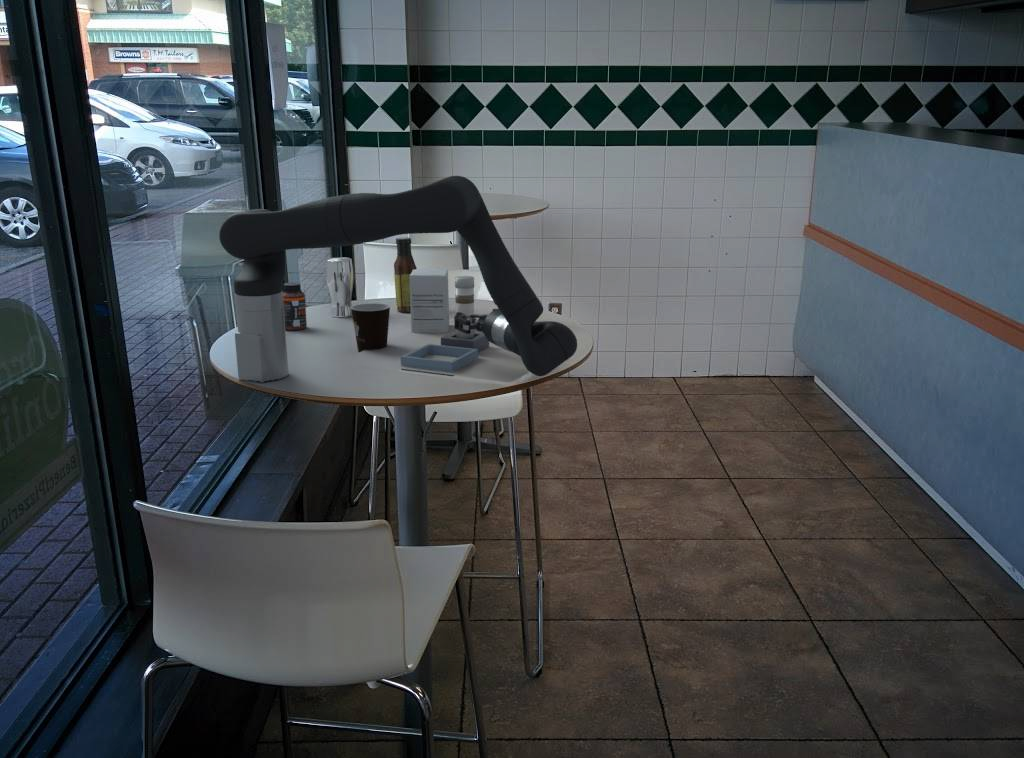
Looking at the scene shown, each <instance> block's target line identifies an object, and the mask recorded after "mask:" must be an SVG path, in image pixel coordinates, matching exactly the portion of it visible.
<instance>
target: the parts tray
mask: <svg viewBox="0 0 1024 758" xmlns="http://www.w3.org/2000/svg"><path fill="white" fill-rule="evenodd" d="M429 355H438V356H446V357H456V358H454V359H452V360H451V361H450V360H443V359H436V358H425V357H426V356H429ZM477 359H479V352H478V349H471V348H462V347H453V346H444V345H441V344H431V343H427V344H425V345H423V346H421V347H418V348H416V349H414V350H412V351H410V352H408V353H406V354H403V355H401V356H400V366H402V367H408V368H419V369H427V370H428V369H429V370H432V371H434V370H435V371H440V372H441V371H442V372H450V373H453V372H455V371H457V370H459V369H461V368H463V367H464V366H466V365H468V364H469V363H471V362H472V363H473V362H474V361H475V360H477ZM400 370H401V371H406V372H413V373H414V372H416V373H422V374H430V375H436V376H437V375H438V376H439V375H440V376H447V377H454V376H455V374H448V373H440V372H439V373H438V372H431V371H423V370H415V369H407V368H401V369H400Z"/></svg>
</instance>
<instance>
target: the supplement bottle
mask: <svg viewBox="0 0 1024 758" xmlns="http://www.w3.org/2000/svg"><path fill="white" fill-rule="evenodd" d="M301 286H302V285H301V283H300V282H286V283H283V290H284V291H283V303H284V318H285V331H301V329H302V330H305V329H306V328H307V325H308V324H307V310H306V309H307V308H306V294H305V292H304V291H302V288H301ZM304 328H305V329H304Z"/></svg>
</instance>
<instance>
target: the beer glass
mask: <svg viewBox="0 0 1024 758" xmlns="http://www.w3.org/2000/svg"><path fill="white" fill-rule="evenodd" d="M325 261H326V265H325V266H326V268H325V270H326V272H325V273H326V284H327V288H328V293H329V296H330V303H331V306H330V317H332V318H338V317H343V318H349V316H350V317H352V312H351V307H352V306H353V305H352V296H353V295H352V294H353V287H354V269H353V268H354V267H353V261H352V258H350V257H339V256H338V257H330V258H327V259H326V260H325Z"/></svg>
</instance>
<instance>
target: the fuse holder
mask: <svg viewBox="0 0 1024 758" xmlns="http://www.w3.org/2000/svg"><path fill="white" fill-rule="evenodd" d="M440 345H444V346H453V347H462V348H471V349H478V353H480V352H482V351H484V350H486V349H488V348H490V341H488V340H487V338H486V337H485V335H484V333H482V332H477V331H474V338H472V339H464V338H456V330H454V331H452V332H451V333H448V334H446V335H444V336H441V337H440Z"/></svg>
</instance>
